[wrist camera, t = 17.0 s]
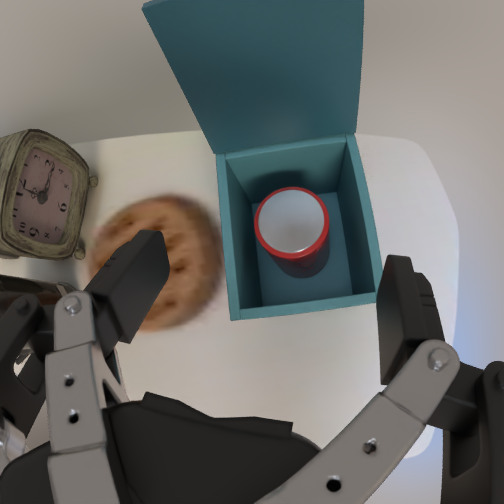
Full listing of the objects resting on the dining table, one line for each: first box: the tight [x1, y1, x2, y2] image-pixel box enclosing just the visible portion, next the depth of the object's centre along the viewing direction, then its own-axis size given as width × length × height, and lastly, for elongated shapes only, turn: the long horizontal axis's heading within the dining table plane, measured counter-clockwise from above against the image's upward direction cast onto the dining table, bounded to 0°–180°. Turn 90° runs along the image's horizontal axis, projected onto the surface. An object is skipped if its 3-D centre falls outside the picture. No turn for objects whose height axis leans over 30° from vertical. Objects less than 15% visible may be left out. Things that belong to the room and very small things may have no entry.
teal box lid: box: [142, 0, 364, 154], centre depth 18 cm, size 14×12×1 cm
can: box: [254, 187, 330, 278], centre depth 31 cm, size 6×6×10 cm
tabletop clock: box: [0, 129, 98, 260], centre depth 31 cm, size 14×9×25 cm, turn 175°
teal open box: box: [216, 133, 383, 321], centre depth 31 cm, size 14×12×13 cm
